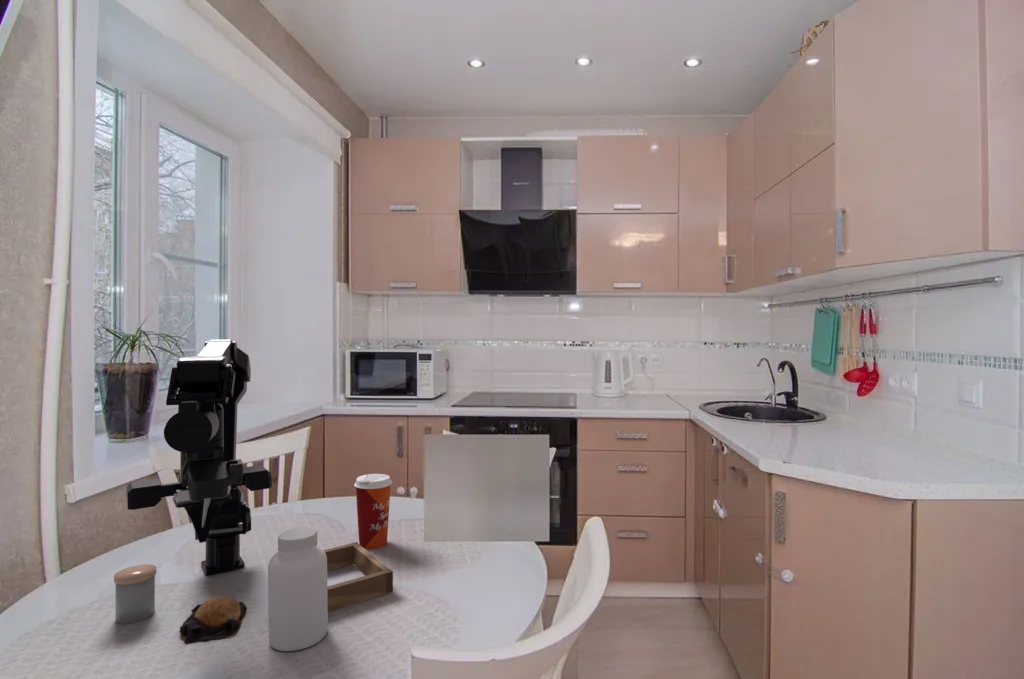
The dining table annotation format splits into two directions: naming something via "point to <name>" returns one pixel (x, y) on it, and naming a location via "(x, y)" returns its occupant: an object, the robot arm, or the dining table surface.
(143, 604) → the grey sugar pot
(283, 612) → the pill bottle
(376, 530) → the paper cup
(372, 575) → the tray
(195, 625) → the bread roll
